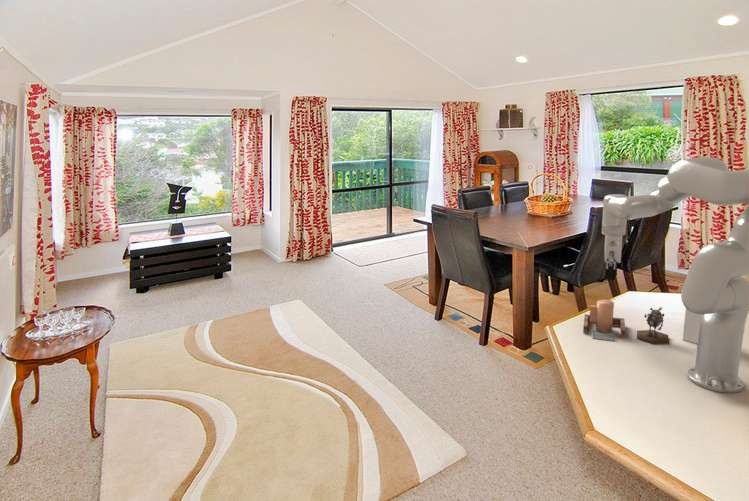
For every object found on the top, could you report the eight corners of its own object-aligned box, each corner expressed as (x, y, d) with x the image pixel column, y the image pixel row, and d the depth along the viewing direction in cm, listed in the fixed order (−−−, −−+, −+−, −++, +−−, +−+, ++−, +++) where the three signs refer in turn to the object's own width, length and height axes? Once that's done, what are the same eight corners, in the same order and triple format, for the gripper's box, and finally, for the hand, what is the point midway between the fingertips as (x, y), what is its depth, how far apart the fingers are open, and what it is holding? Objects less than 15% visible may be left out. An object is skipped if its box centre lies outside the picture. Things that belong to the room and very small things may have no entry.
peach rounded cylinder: (612, 334, 155) (614, 305, 153) (588, 331, 159) (590, 303, 156) (612, 328, 160) (613, 300, 158) (589, 325, 164) (590, 298, 161)
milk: (703, 345, 143) (710, 283, 138) (681, 339, 148) (688, 279, 142) (709, 339, 146) (717, 278, 141) (688, 334, 151) (695, 275, 146)
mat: (615, 341, 149) (615, 340, 149) (592, 338, 153) (592, 338, 153) (614, 335, 154) (614, 335, 154) (592, 333, 157) (592, 332, 157)
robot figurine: (628, 336, 153) (630, 304, 150) (643, 329, 157) (645, 298, 154) (661, 347, 143) (664, 313, 141) (676, 340, 148) (679, 307, 145)
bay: (625, 338, 151) (625, 331, 150) (583, 333, 157) (583, 326, 157) (623, 325, 162) (624, 318, 161) (584, 321, 168) (584, 314, 167)
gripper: (625, 235, 141) (622, 284, 145) (626, 225, 156) (622, 270, 160) (600, 234, 145) (597, 281, 149) (602, 224, 160) (600, 268, 164)
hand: (610, 275), depth 154 cm, fingers open, 9 cm apart
